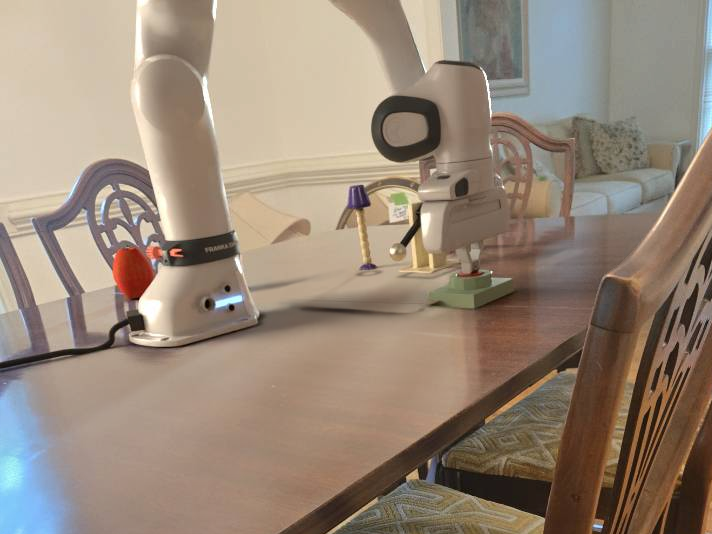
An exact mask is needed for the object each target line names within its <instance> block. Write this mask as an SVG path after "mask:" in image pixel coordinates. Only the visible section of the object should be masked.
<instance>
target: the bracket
mask: <svg viewBox="0 0 712 534" xmlns="http://www.w3.org/2000/svg"><path fill="white" fill-rule="evenodd" d="M424 202H425V201H420V200H419V201H417V202H412V203H409V204H407V212H408V222H409V223H408V224H409V229H410V228H411V226H412V225H413V224H414V222H415V221H416V219H417V218H418V217H417V215H416V211H417V210H418V208H419V207H420V205H421V204H422V203H424ZM410 243H411V245H410V246H411V254H412V255H411V256H412V265H411V266H409V267H406V268H402V269H399V270H398V272H399V273H400V272H401V273H423V274H424V273H426V274H432V273H435V272H438V271H441V270H443V269H446V268H449V267H452V266H454V265H457V264H461V262H460V260H447V254H446V253H445V254H429V253H428V252H427V251H426V249H425V248H424V245H423V239H422V231H421V227H420V228H419V230H418V231H417V232H416V234H415V235H414V237H413V238H412V240H411V241H410Z"/></svg>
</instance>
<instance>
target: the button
mask: <svg viewBox="0 0 712 534" xmlns="http://www.w3.org/2000/svg"><path fill="white" fill-rule="evenodd" d="M480 270H481V269H480ZM480 270H478V271H476V272H473V273H471V274H463V273H462V272H461V271H459V272H460V273H459V274H458V275H459V277H473V276H479V275H482V274H483V271H480Z"/></svg>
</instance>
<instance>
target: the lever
mask: <svg viewBox="0 0 712 534" xmlns="http://www.w3.org/2000/svg"><path fill="white" fill-rule="evenodd" d="M422 205H423V203H422V204H421V205H420V207H419V208H418V210H417V211H416V215H417V217H418V218H417V219H416V221H415V222H414V224H413V225H412V226H411V228H410V227H409V229H408V231H407V232H406V233H405V235H404V236H403V238H402V239H401V241H400V242H396V243H393V244H392V245H391V246H390V248H389V257H390V258H391V260H393V261H395V262H402V261H403V260H404V259H405V258H406V256H407V247H408V245H409V244H410V243H411V240H412V238H413V237H414V235H415V234H416V232H417V231H418V230H419V228H420V227H421V207H422Z"/></svg>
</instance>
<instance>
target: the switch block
mask: <svg viewBox="0 0 712 534" xmlns="http://www.w3.org/2000/svg"><path fill="white" fill-rule="evenodd" d="M480 271H483V274H482V275H479V276H473V277H459V275H458V274H459V273H460V272H462V270H460V271H456V272H453V273H451V274H450V275H449V276H448V279H449V284H446V285H444V286H440V287H439V288H436V289H433V290H430V291H428V292H427V294H428V300H429V301H435V302H433V303H431V304H430V305H429V306H430V307H444V308H461V309H473V310H474V309H477V308H479V307H481V306H483V305H486V304H488V303H491V302H493V301H495V300H498V299H500V298H503V297H504V296H507V295H509V294H511V293H513V292H515V286H514V277H493V271H492V270H489V269H480Z"/></svg>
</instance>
